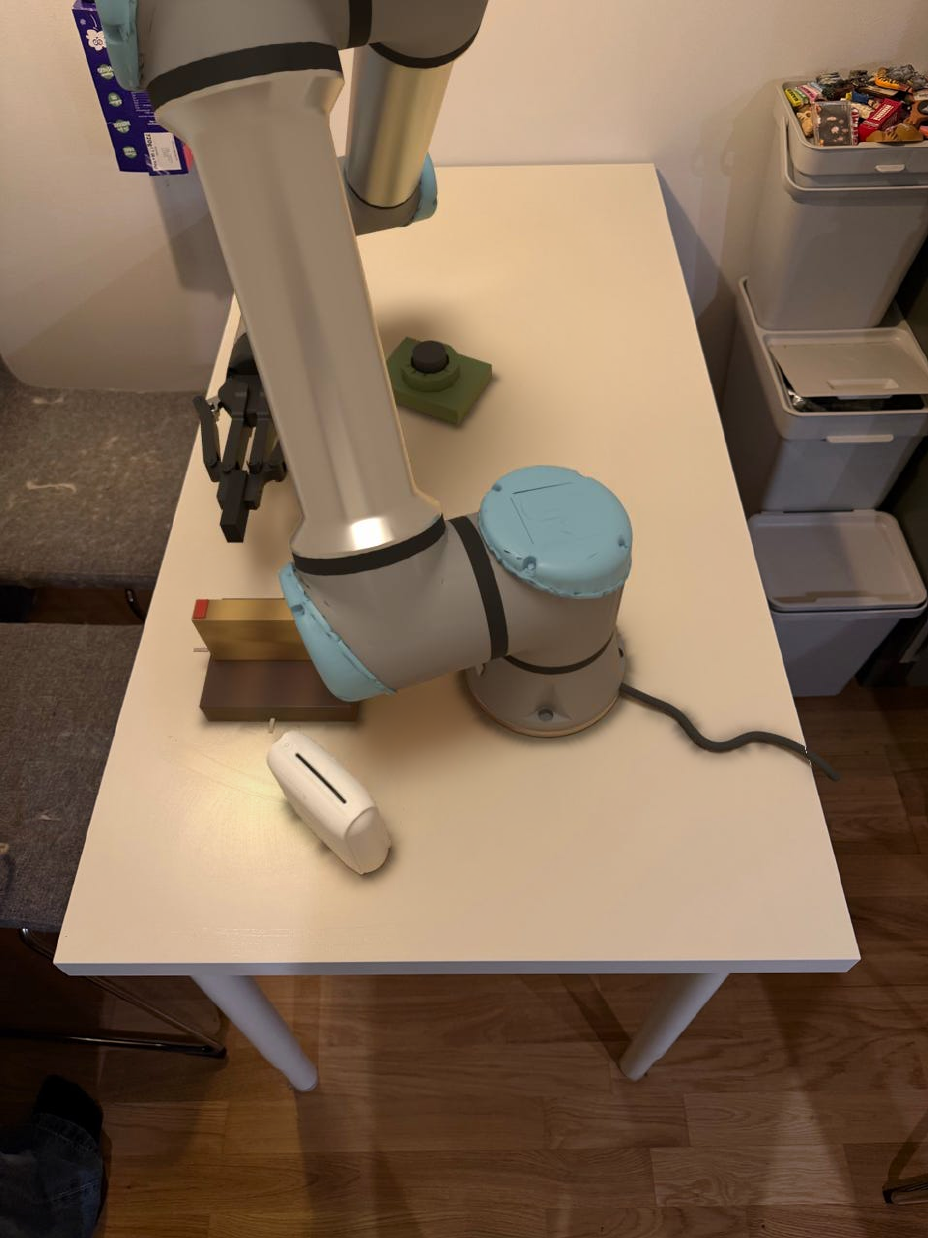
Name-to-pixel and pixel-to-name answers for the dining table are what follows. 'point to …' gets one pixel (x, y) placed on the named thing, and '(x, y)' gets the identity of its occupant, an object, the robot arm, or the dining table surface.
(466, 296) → the dining table surface
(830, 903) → the dining table surface
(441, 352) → the button
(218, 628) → the golden wooden board
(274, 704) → the panel
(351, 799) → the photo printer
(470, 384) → the button block
